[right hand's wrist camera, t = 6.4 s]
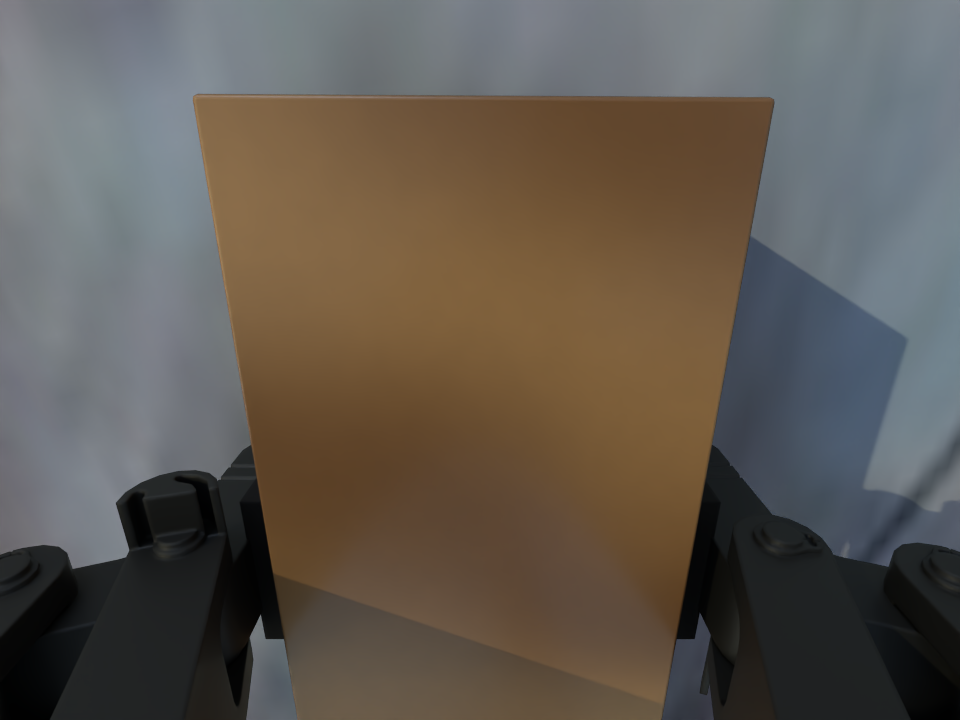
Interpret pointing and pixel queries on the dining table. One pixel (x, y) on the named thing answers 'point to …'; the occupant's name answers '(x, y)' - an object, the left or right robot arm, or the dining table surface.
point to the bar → (481, 383)
